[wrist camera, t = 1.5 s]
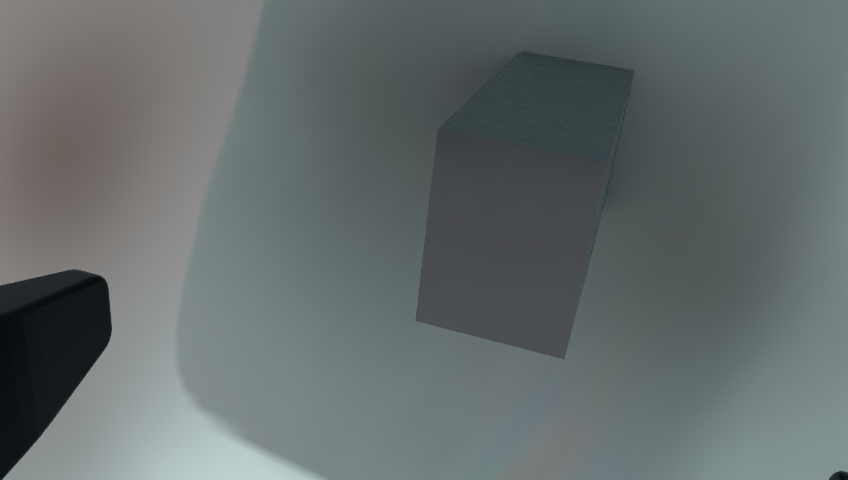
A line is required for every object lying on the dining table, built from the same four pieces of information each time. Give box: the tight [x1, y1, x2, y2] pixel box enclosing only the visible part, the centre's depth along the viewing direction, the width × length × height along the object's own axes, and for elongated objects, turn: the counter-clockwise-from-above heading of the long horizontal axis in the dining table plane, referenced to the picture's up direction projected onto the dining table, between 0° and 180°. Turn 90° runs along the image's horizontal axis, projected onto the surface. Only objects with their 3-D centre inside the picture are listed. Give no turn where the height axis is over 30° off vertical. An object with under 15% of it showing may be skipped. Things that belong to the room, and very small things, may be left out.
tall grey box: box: [416, 52, 634, 359], centre depth 17 cm, size 4×3×8 cm
